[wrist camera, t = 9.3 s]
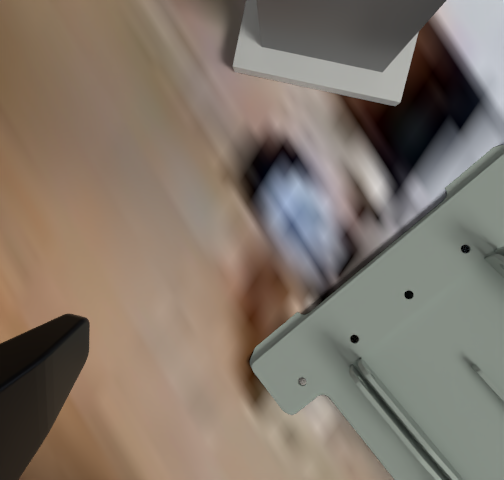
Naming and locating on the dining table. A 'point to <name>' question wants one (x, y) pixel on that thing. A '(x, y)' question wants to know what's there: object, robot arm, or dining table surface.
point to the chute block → (344, 28)
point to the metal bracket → (413, 341)
